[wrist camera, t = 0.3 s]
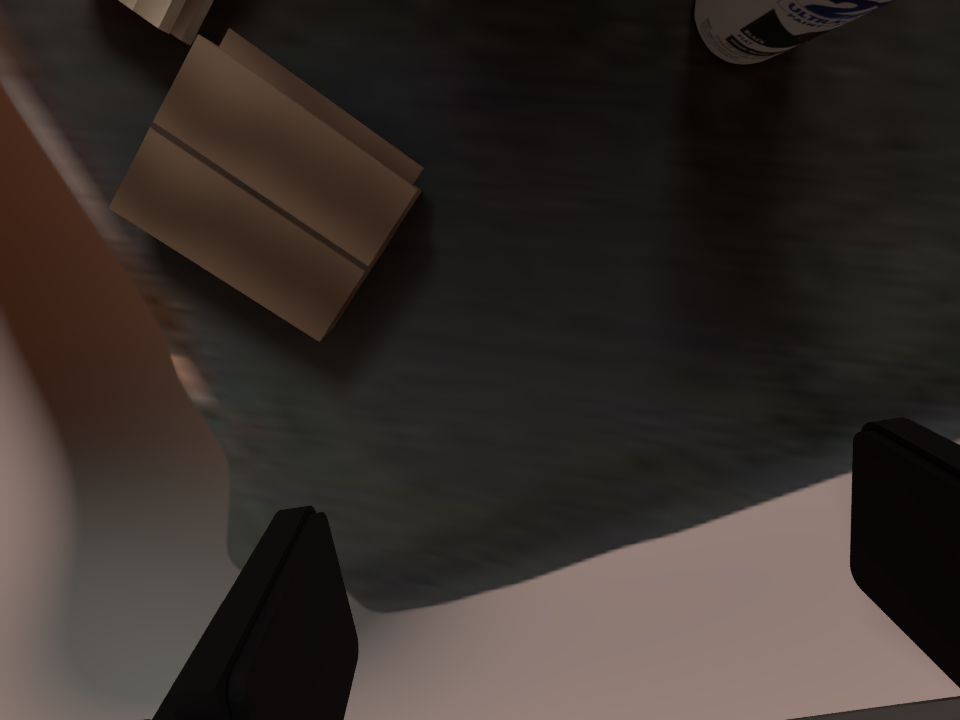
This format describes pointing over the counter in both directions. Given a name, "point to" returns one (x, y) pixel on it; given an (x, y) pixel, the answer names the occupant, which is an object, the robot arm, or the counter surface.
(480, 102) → the counter surface
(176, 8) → the maple plank
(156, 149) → the brown grooved flat slab
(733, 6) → the spray can
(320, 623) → the robot arm
